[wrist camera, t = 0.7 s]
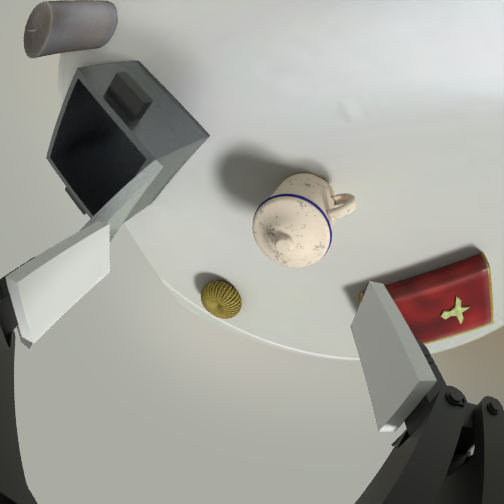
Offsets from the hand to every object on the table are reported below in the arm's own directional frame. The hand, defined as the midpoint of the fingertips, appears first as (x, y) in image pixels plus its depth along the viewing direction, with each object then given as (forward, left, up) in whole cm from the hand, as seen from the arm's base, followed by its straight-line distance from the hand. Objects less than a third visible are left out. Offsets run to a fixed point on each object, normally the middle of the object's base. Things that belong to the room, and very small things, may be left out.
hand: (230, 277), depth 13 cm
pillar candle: (-7, -43, -26) cm, 51 cm away
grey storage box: (+10, -26, -26) cm, 38 cm away
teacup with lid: (+6, +3, -26) cm, 27 cm away
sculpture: (+32, -2, -27) cm, 42 cm away
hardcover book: (+10, +27, -27) cm, 39 cm away
